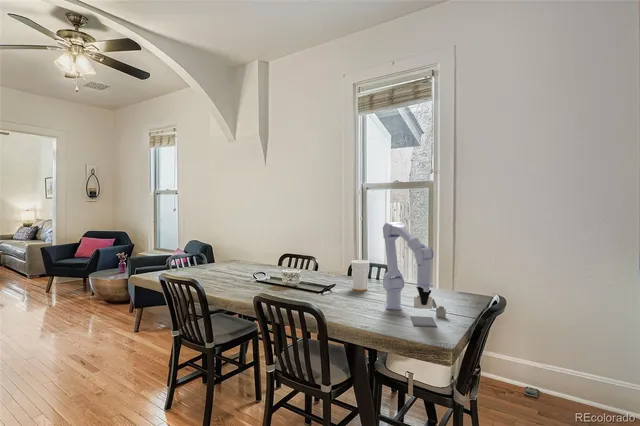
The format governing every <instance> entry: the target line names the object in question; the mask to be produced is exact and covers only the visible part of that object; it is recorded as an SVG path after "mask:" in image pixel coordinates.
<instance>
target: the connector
mask: <svg viewBox="0 0 640 426" xmlns="http://www.w3.org/2000/svg"><path fill="white" fill-rule="evenodd" d="M432 299H433V296H432V295H429V297H428V302H427V305H422V304H421V298H420V296H419V295H413V308H414V309H423V310H424V309H426V310H427V309H430V310H432V309H433V306H432Z"/></svg>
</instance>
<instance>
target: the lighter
mask: <svg viewBox="0 0 640 426" xmlns="http://www.w3.org/2000/svg"><path fill="white" fill-rule="evenodd" d="M432 309H435V316H436V318H442V319H446V317H447V308H446V307H444V306H443V305H438V306H437V303H436V301H435V299H434V298H432Z"/></svg>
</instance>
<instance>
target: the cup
mask: <svg viewBox="0 0 640 426" xmlns="http://www.w3.org/2000/svg"><path fill="white" fill-rule="evenodd" d="M370 263H371V262H370V261H369V260H366V259H355V260H351V263H350V264H351V269H352V289H353V291H357V292H365V291H368V289H369V288H368V284H369V283H368V281H369V280H368V279H369V270H370Z"/></svg>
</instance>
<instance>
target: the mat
mask: <svg viewBox="0 0 640 426" xmlns="http://www.w3.org/2000/svg"><path fill="white" fill-rule="evenodd" d="M410 321H411V323H412V325H413V327H420V328H421V327H426V328H438V325H437V324H436V321H435V319H434V318H433V316H420V315H419V316H418V315H417V316H416V315H415V316H414V315H410Z"/></svg>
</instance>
